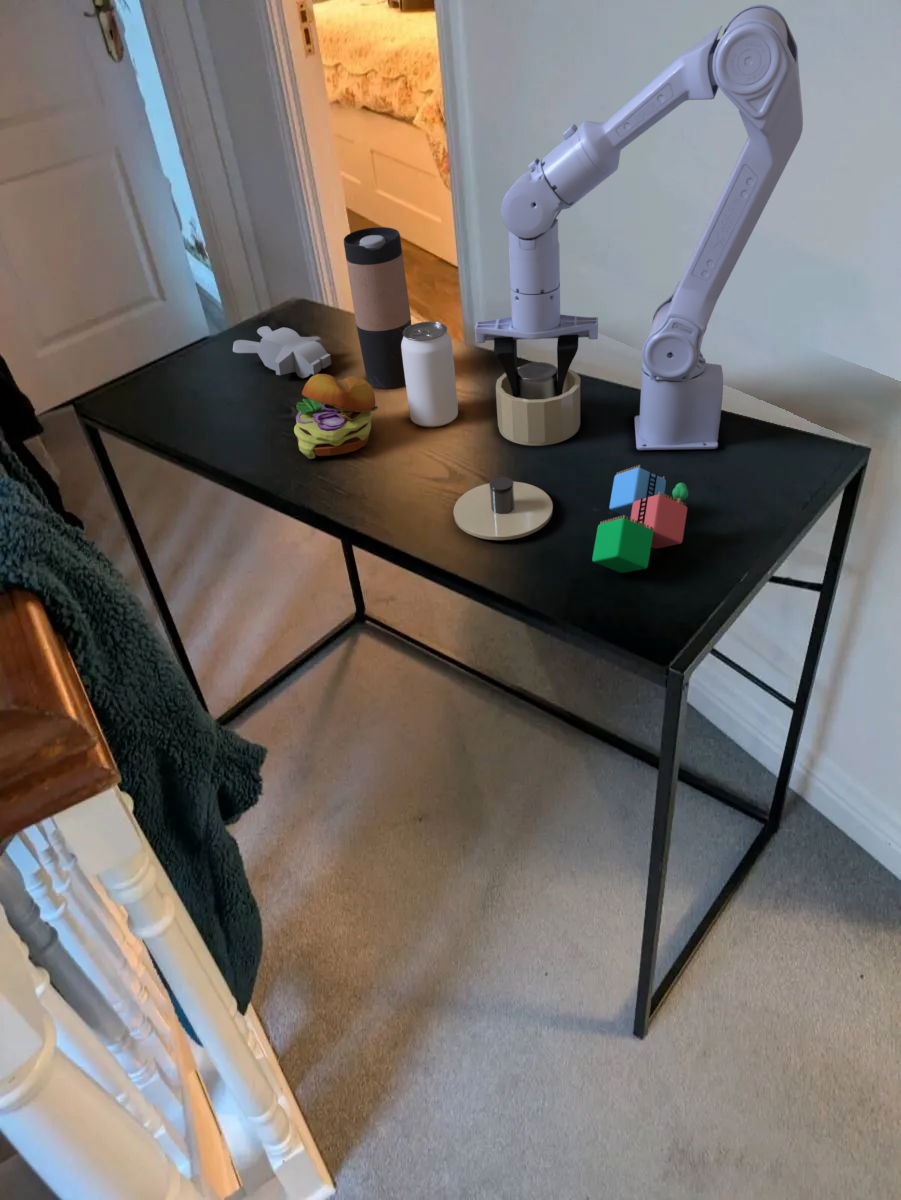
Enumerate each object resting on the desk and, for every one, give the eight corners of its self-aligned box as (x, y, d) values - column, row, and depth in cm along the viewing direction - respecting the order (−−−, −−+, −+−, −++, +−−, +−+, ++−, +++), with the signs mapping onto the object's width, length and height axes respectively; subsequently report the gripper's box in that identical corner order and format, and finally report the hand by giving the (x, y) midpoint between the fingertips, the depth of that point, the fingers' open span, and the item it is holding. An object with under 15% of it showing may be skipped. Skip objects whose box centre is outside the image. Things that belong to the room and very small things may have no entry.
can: (453, 429, 116) (444, 341, 109) (405, 428, 118) (393, 341, 110) (463, 405, 121) (455, 319, 113) (416, 405, 122) (406, 320, 115)
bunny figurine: (298, 362, 127) (223, 333, 133) (302, 394, 130) (228, 365, 137) (341, 337, 133) (267, 310, 139) (344, 368, 136) (271, 341, 142)
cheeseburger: (276, 448, 116) (274, 371, 111) (339, 433, 123) (340, 360, 118) (327, 470, 110) (327, 390, 106) (390, 453, 117) (393, 377, 113)
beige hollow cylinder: (580, 405, 118) (580, 362, 114) (579, 445, 110) (579, 400, 106) (502, 407, 120) (499, 365, 116) (495, 446, 112) (492, 402, 108)
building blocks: (625, 589, 95) (642, 485, 98) (679, 580, 88) (696, 468, 91) (566, 567, 92) (586, 459, 94) (618, 555, 85) (638, 440, 87)
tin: (558, 394, 115) (557, 361, 112) (557, 412, 111) (556, 379, 108) (519, 395, 115) (518, 362, 112) (517, 413, 112) (515, 380, 109)
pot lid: (543, 483, 104) (542, 451, 101) (561, 537, 96) (561, 503, 93) (449, 495, 104) (446, 463, 101) (459, 551, 95) (456, 517, 93)
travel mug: (387, 362, 134) (367, 224, 121) (428, 372, 130) (412, 230, 117) (354, 383, 129) (330, 241, 117) (395, 394, 126) (375, 248, 113)
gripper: (598, 270, 106) (596, 377, 114) (476, 276, 108) (483, 380, 116) (598, 293, 100) (596, 403, 109) (470, 298, 102) (478, 406, 111)
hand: (538, 393), depth 112 cm, fingers closed on tin, 5 cm apart
